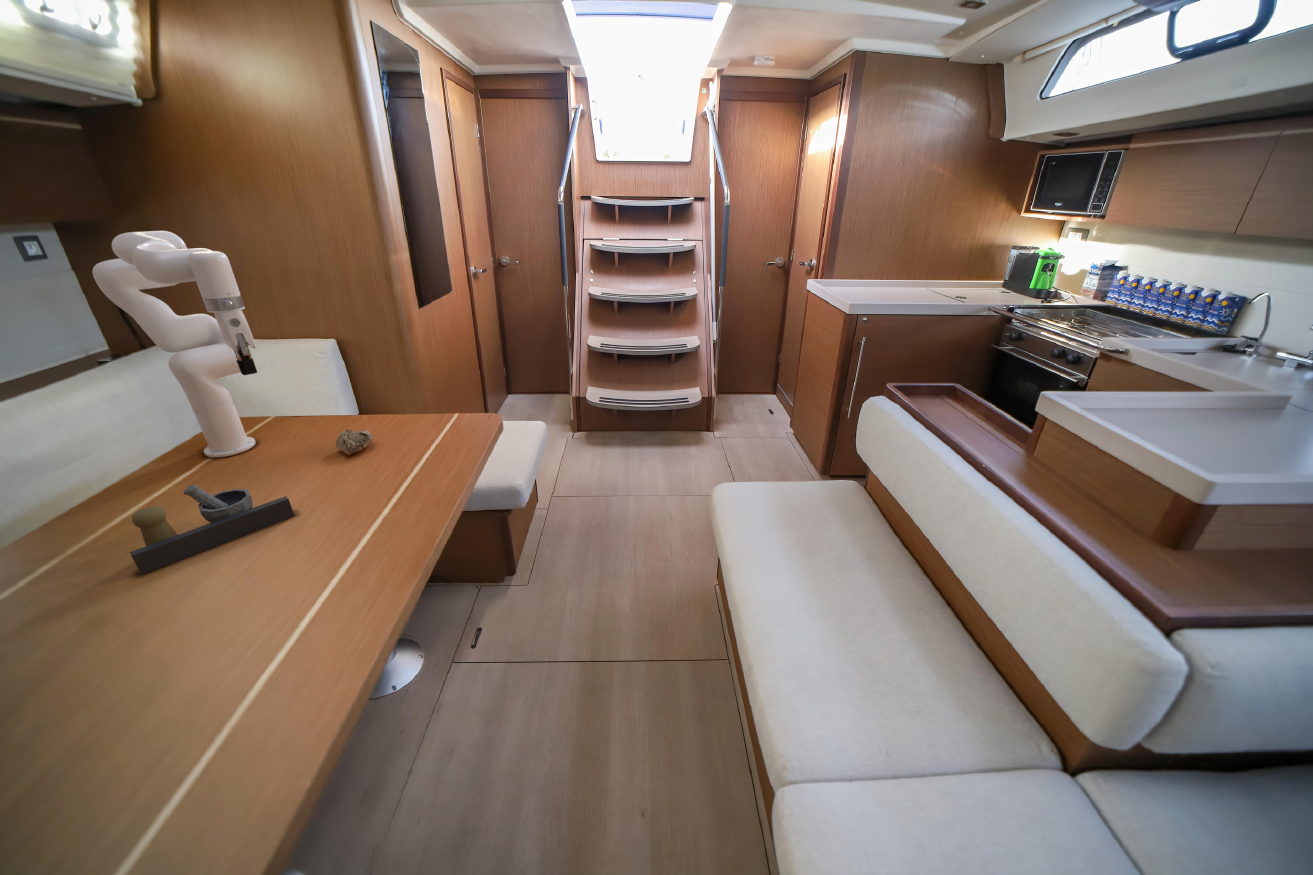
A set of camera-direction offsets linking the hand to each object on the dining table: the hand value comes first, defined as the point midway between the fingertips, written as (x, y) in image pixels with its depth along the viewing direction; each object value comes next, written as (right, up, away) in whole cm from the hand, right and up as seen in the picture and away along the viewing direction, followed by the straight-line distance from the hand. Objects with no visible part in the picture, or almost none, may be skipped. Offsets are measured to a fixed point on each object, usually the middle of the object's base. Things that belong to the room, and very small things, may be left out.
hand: (249, 373), depth 133 cm
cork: (0, -43, -22) cm, 48 cm away
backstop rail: (+9, -41, -19) cm, 46 cm away
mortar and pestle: (+6, -38, -13) cm, 41 cm away
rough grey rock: (+15, -21, +23) cm, 34 cm away
